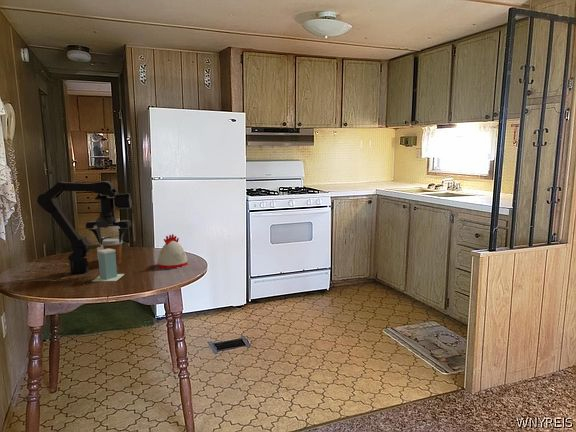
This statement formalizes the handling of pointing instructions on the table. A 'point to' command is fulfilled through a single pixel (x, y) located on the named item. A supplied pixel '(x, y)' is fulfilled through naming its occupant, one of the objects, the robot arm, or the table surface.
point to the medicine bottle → (101, 244)
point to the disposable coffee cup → (113, 247)
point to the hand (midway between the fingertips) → (110, 242)
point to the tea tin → (107, 263)
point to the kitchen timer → (172, 254)
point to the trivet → (108, 279)
